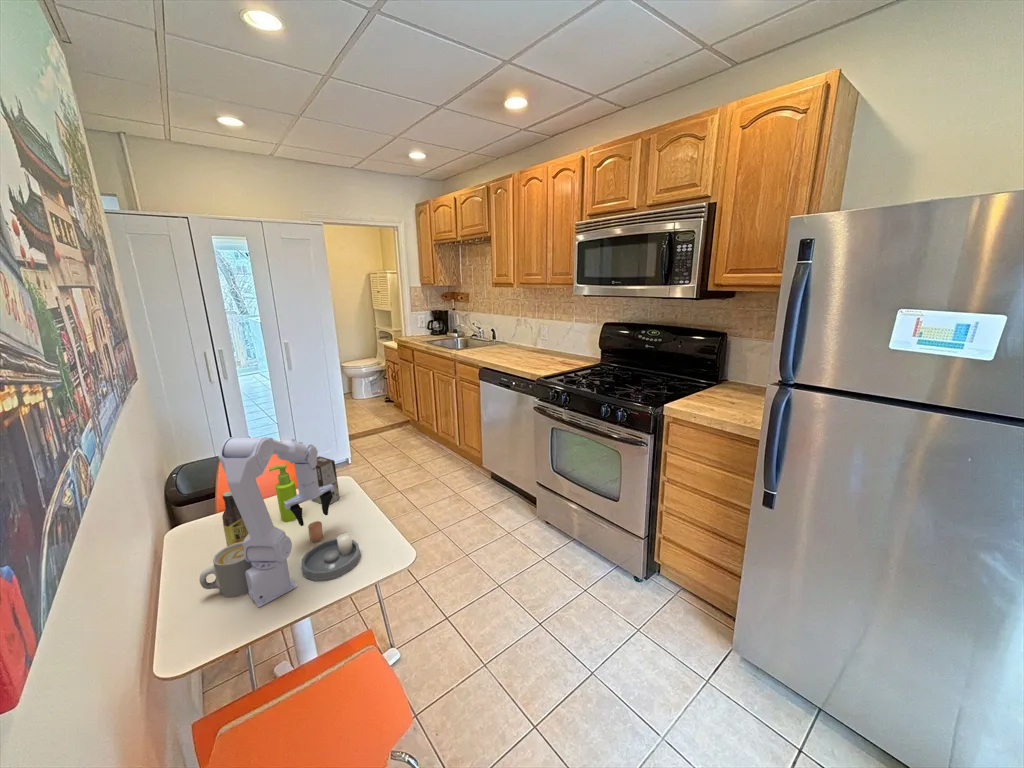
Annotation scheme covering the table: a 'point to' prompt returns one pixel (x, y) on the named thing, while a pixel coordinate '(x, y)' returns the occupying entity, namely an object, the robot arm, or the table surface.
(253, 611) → the table surface
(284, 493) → the soap dispenser
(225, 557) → the coffee mug
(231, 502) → the sauce bottle
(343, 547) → the cream bead
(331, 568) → the groove tray
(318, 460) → the coffee box
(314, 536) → the terracotta bead
